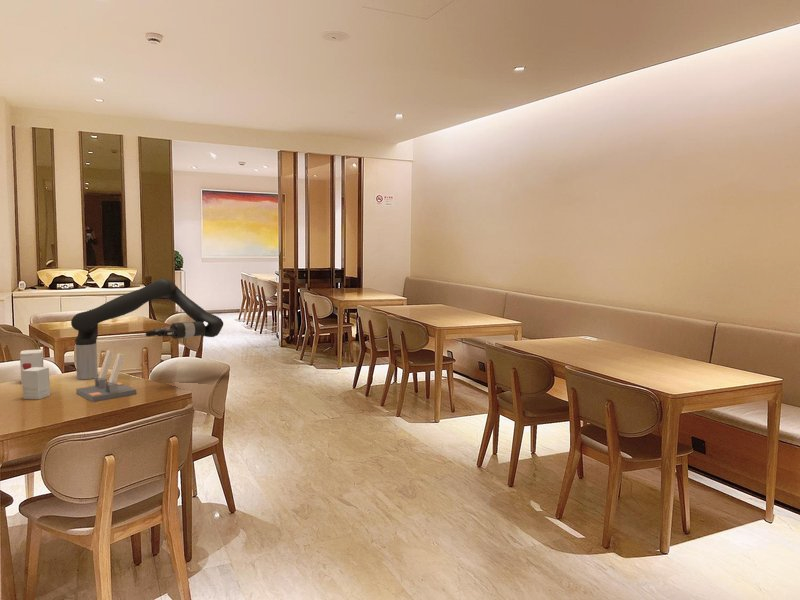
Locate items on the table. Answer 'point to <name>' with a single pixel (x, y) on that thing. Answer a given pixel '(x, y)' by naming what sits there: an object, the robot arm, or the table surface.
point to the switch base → (105, 391)
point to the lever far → (105, 365)
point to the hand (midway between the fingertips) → (146, 334)
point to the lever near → (116, 369)
